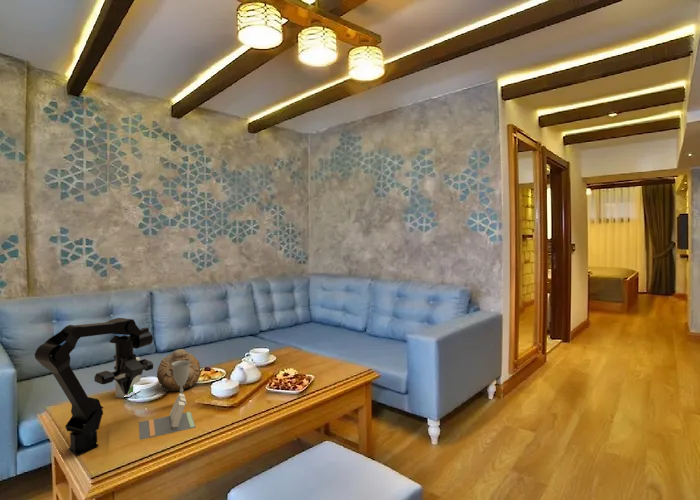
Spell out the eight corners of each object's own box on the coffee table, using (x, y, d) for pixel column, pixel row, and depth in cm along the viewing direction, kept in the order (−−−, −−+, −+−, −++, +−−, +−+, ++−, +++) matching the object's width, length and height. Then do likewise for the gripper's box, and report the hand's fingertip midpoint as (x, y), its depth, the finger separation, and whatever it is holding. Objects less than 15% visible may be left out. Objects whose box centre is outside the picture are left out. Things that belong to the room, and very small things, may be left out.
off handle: (172, 426, 142) (179, 404, 143) (171, 423, 145) (178, 401, 146) (177, 427, 143) (184, 405, 144) (177, 423, 146) (183, 402, 147)
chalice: (168, 407, 163) (167, 364, 162) (182, 401, 169) (181, 359, 168) (180, 411, 159) (180, 367, 158) (194, 404, 165) (193, 362, 164)
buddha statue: (165, 398, 172) (163, 358, 171) (152, 387, 184) (150, 350, 183) (210, 385, 185) (208, 348, 184) (195, 375, 198) (194, 341, 197)
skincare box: (127, 399, 170) (126, 363, 170) (114, 397, 172) (113, 362, 171) (141, 391, 179) (140, 356, 178) (128, 389, 180) (127, 355, 179)
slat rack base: (139, 443, 136) (139, 415, 135) (139, 425, 148) (138, 399, 147) (195, 430, 144) (195, 404, 144) (190, 414, 157) (190, 390, 156)
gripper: (110, 363, 134) (111, 409, 135) (161, 349, 150) (162, 390, 151) (92, 357, 140) (94, 401, 140) (144, 344, 155) (145, 383, 156)
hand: (125, 394), depth 147 cm, fingers closed
